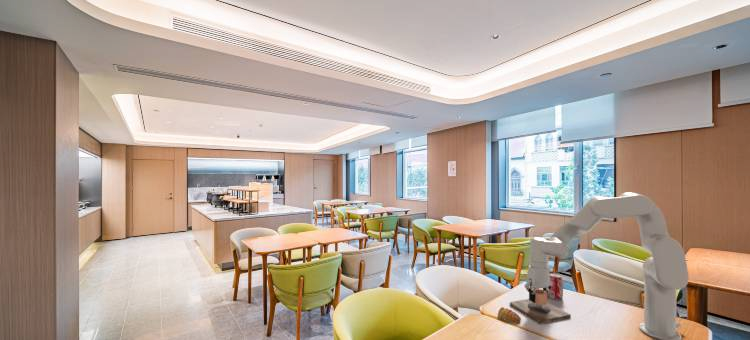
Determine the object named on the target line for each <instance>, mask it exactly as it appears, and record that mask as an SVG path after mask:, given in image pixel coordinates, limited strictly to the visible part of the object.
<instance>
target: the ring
mask: <svg viewBox="0 0 750 340" xmlns="http://www.w3.org/2000/svg"><path fill="white" fill-rule="evenodd" d="M532 290H533V288H532ZM534 294H535V303H534V304H537V305H547V302H548V301H547V292H546V291H544V290H543V288H540V289H536V291H535V293H534ZM531 302H532V301H531Z"/></svg>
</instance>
